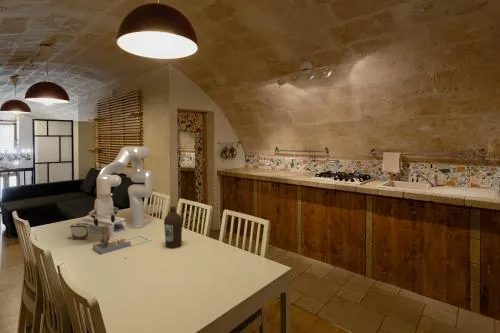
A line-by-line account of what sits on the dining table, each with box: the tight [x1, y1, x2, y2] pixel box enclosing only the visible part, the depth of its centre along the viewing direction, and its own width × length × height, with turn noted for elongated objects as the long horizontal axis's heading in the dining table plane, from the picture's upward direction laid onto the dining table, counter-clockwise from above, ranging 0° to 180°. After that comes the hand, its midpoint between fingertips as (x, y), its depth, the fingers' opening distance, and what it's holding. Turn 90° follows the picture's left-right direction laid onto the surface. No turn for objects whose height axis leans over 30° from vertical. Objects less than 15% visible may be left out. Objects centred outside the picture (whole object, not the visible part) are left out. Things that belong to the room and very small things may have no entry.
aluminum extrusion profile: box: [78, 213, 127, 237], centre depth 202 cm, size 14×31×10 cm, turn 65°
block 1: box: [108, 238, 118, 247], centre depth 167 cm, size 4×4×4 cm
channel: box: [92, 238, 132, 255], centre depth 167 cm, size 17×11×4 cm
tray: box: [125, 234, 153, 247], centre depth 178 cm, size 13×14×2 cm
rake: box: [100, 225, 111, 243], centre depth 175 cm, size 3×8×12 cm, turn 49°
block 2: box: [115, 236, 127, 244], centre depth 171 cm, size 4×4×4 cm
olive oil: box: [163, 204, 183, 249], centre depth 172 cm, size 11×11×25 cm
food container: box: [69, 222, 89, 241], centre depth 185 cm, size 12×6×10 cm, turn 84°
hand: (104, 223), depth 174 cm, fingers open, 9 cm apart
